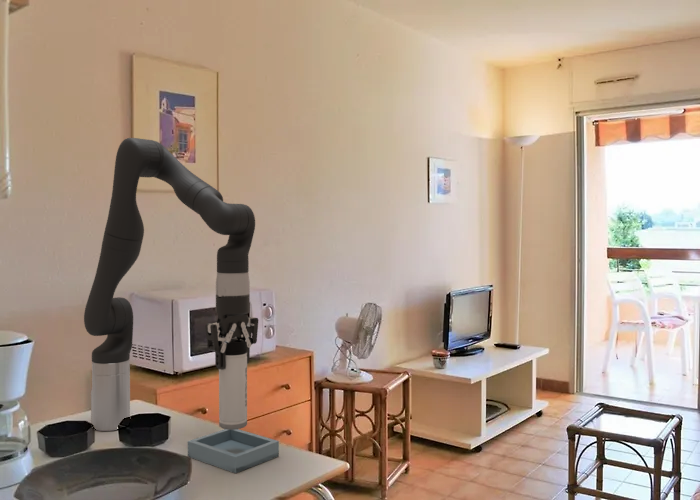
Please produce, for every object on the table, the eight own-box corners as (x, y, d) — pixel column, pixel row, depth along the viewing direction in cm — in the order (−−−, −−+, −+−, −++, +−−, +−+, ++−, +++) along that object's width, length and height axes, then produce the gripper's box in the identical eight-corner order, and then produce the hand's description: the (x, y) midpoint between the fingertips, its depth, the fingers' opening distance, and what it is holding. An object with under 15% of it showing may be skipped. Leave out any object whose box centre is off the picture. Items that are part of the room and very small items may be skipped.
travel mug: (212, 425, 148) (212, 338, 147) (237, 419, 152) (237, 334, 151) (227, 432, 143) (227, 342, 142) (252, 425, 148) (252, 338, 147)
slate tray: (187, 456, 148) (187, 441, 148) (231, 441, 158) (231, 427, 158) (235, 473, 138) (235, 457, 138) (278, 456, 148) (278, 441, 148)
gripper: (244, 288, 155) (244, 358, 155) (196, 293, 143) (196, 369, 144) (267, 291, 150) (267, 363, 151) (219, 296, 139) (219, 374, 139)
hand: (232, 365), depth 147 cm, fingers closed on travel mug, 6 cm apart
